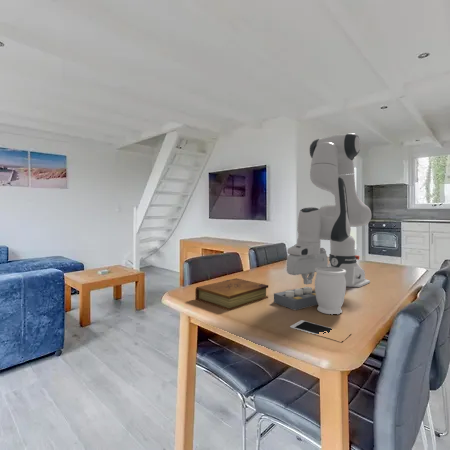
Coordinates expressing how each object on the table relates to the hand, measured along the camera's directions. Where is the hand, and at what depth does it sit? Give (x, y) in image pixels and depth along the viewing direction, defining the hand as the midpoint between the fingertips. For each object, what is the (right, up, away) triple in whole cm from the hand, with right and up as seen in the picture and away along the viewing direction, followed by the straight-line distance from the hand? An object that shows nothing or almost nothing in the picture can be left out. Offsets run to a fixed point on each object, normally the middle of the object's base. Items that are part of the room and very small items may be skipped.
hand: (307, 283), depth 120 cm
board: (-4, -7, -2) cm, 8 cm away
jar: (+5, -8, -12) cm, 15 cm away
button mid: (-4, -5, -2) cm, 7 cm away
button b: (0, -5, 0) cm, 5 cm away
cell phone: (-4, -9, -30) cm, 31 cm away
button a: (-8, -5, -5) cm, 11 cm away
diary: (-30, -7, +3) cm, 31 cm away
